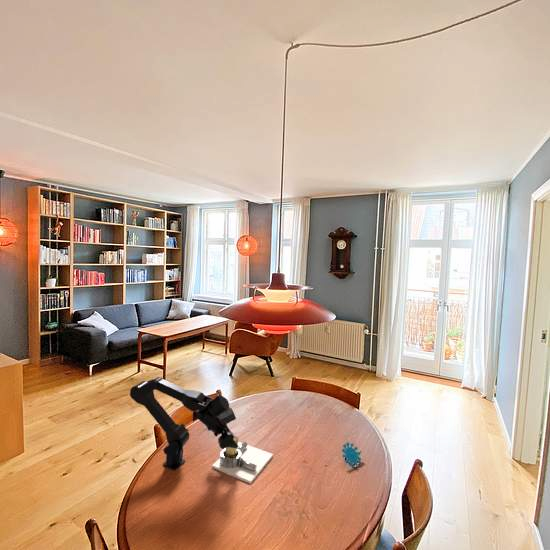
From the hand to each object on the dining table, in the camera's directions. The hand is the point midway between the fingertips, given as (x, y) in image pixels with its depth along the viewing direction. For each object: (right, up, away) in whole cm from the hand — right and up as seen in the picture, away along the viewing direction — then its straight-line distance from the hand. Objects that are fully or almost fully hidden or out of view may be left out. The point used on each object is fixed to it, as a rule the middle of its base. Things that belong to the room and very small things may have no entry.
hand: (234, 441), depth 135 cm
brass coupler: (-2, -8, 0) cm, 9 cm away
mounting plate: (+4, -10, +2) cm, 11 cm away
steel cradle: (+3, -9, +2) cm, 10 cm away
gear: (+51, -13, +6) cm, 53 cm away
